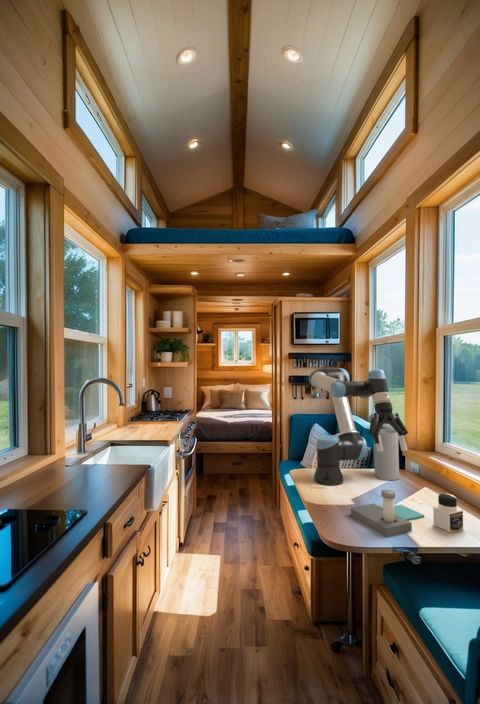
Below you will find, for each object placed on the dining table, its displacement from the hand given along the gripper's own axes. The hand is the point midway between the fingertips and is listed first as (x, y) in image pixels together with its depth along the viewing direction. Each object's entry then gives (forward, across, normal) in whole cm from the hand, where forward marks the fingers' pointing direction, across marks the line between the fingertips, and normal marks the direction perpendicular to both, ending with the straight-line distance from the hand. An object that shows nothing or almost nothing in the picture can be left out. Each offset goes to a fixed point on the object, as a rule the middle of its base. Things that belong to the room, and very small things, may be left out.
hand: (392, 451), depth 155 cm
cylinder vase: (+10, +30, +39) cm, 50 cm away
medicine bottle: (+30, +6, -13) cm, 33 cm away
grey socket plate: (+27, -14, 0) cm, 31 cm away
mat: (+25, 0, +2) cm, 25 cm away
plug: (+29, -14, -5) cm, 32 cm away
